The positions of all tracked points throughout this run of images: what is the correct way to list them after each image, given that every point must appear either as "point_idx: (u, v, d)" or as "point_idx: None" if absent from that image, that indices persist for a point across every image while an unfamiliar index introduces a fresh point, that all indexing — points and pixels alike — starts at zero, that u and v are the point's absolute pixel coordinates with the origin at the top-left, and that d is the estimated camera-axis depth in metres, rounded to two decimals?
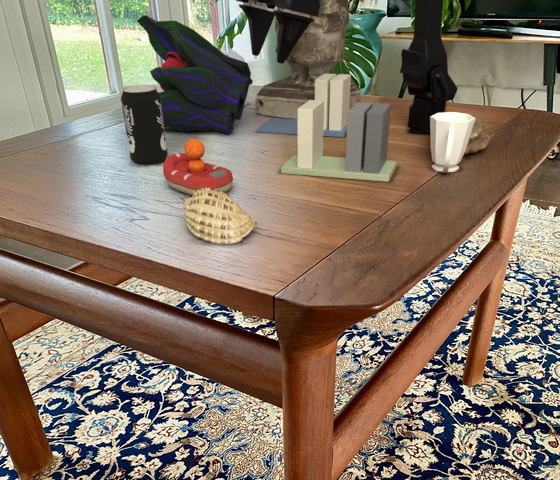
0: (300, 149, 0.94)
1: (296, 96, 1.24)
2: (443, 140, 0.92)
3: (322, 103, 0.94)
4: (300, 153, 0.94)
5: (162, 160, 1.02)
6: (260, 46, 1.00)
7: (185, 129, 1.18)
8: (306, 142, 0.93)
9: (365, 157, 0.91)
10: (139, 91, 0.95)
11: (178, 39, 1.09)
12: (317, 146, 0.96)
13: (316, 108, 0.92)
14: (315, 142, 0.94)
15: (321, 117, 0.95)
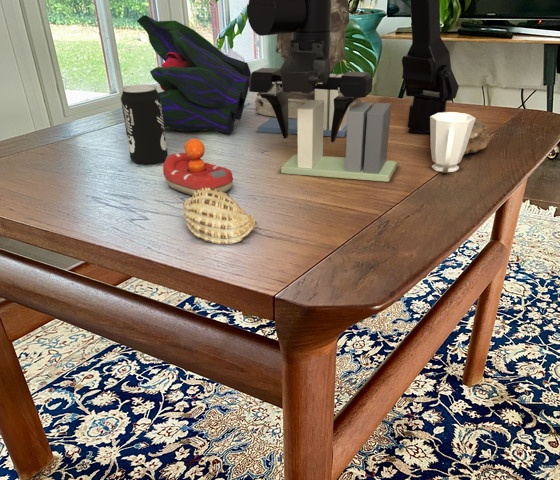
0: (300, 149, 0.94)
1: (296, 96, 1.24)
2: (443, 140, 0.92)
3: (322, 103, 0.94)
4: (300, 153, 0.94)
5: (162, 160, 1.02)
6: (287, 127, 0.97)
7: (185, 129, 1.18)
8: (306, 142, 0.93)
9: (365, 157, 0.91)
10: (139, 91, 0.95)
11: (178, 39, 1.09)
12: (317, 146, 0.96)
13: (316, 108, 0.92)
14: (315, 142, 0.94)
15: (321, 117, 0.95)
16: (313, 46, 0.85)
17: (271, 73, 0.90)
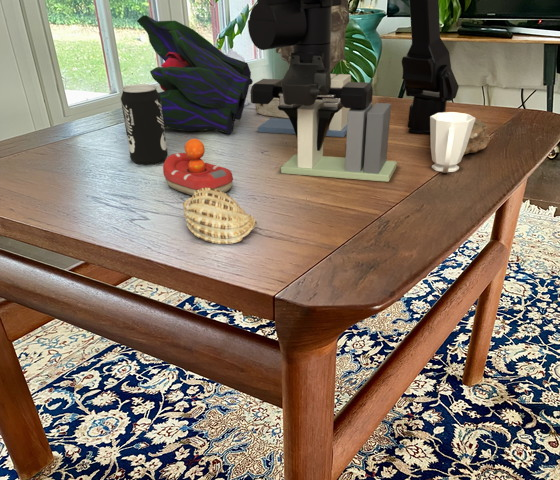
0: (300, 149, 0.94)
1: None
2: (443, 140, 0.92)
3: (322, 103, 0.94)
4: (300, 153, 0.94)
5: (162, 160, 1.02)
6: None
7: (185, 129, 1.18)
8: (306, 142, 0.93)
9: (365, 157, 0.91)
10: (139, 91, 0.95)
11: (178, 39, 1.09)
12: None
13: (316, 108, 0.92)
14: (315, 142, 0.94)
15: None
16: (314, 58, 0.86)
17: (272, 85, 0.91)
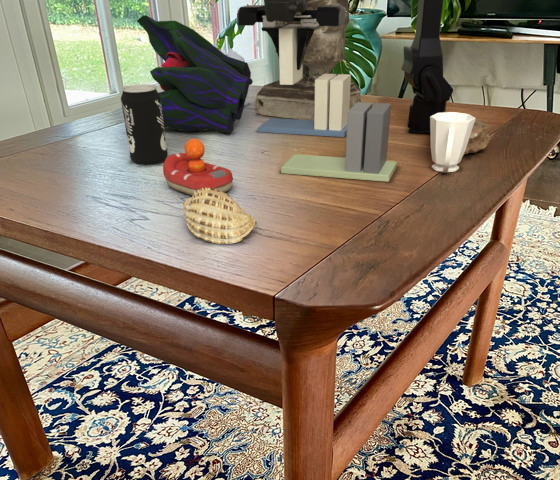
0: (282, 67, 1.06)
1: (296, 96, 1.24)
2: (443, 140, 0.92)
3: None
4: (282, 70, 1.06)
5: (162, 160, 1.02)
6: None
7: (185, 129, 1.18)
8: (287, 59, 1.05)
9: (365, 157, 0.91)
10: (139, 91, 0.95)
11: (178, 39, 1.09)
12: None
13: (295, 28, 1.04)
14: (295, 61, 1.06)
15: None
16: None
17: (256, 7, 1.03)
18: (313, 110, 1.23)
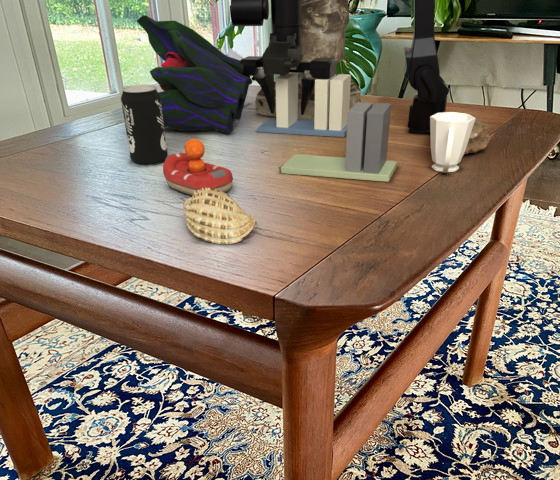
0: (278, 112, 1.16)
1: None
2: (443, 140, 0.92)
3: (296, 75, 1.17)
4: (278, 115, 1.16)
5: (162, 160, 1.02)
6: (274, 104, 1.20)
7: (185, 129, 1.18)
8: (283, 105, 1.15)
9: (365, 157, 0.91)
10: (139, 91, 0.95)
11: (178, 39, 1.09)
12: (292, 110, 1.18)
13: (291, 78, 1.14)
14: (290, 106, 1.16)
15: (295, 86, 1.18)
16: (287, 38, 1.08)
17: (255, 60, 1.13)
18: (313, 110, 1.23)
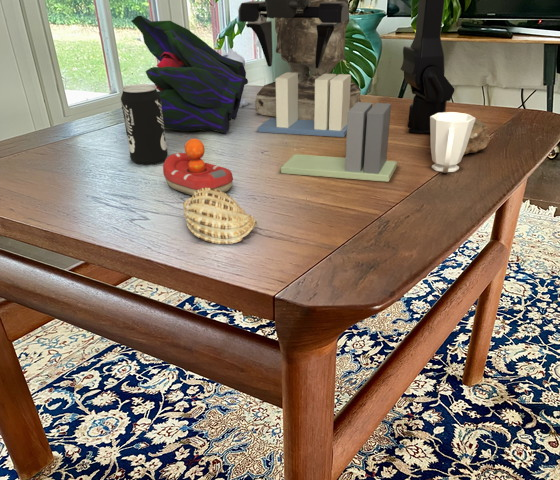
0: (278, 112, 1.16)
1: None
2: (443, 140, 0.92)
3: (296, 75, 1.17)
4: (278, 115, 1.16)
5: (162, 160, 1.02)
6: (271, 56, 1.08)
7: (181, 129, 1.18)
8: (283, 105, 1.15)
9: (365, 157, 0.91)
10: (139, 91, 0.95)
11: (173, 39, 1.09)
12: (292, 110, 1.18)
13: (291, 78, 1.14)
14: (290, 106, 1.16)
15: (295, 86, 1.18)
16: None
17: (258, 3, 1.01)
18: (313, 110, 1.23)
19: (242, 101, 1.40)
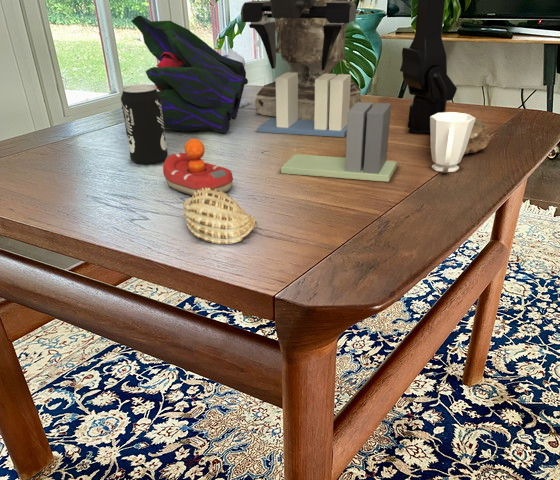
0: (278, 112, 1.16)
1: None
2: (443, 140, 0.92)
3: (296, 75, 1.17)
4: (278, 115, 1.16)
5: (162, 160, 1.02)
6: (275, 58, 1.03)
7: (181, 129, 1.18)
8: (283, 105, 1.15)
9: (365, 157, 0.91)
10: (139, 91, 0.95)
11: (173, 39, 1.09)
12: (292, 110, 1.18)
13: (291, 78, 1.14)
14: (290, 106, 1.16)
15: (295, 86, 1.18)
16: None
17: (261, 3, 0.96)
18: (313, 110, 1.23)
19: (242, 101, 1.40)
